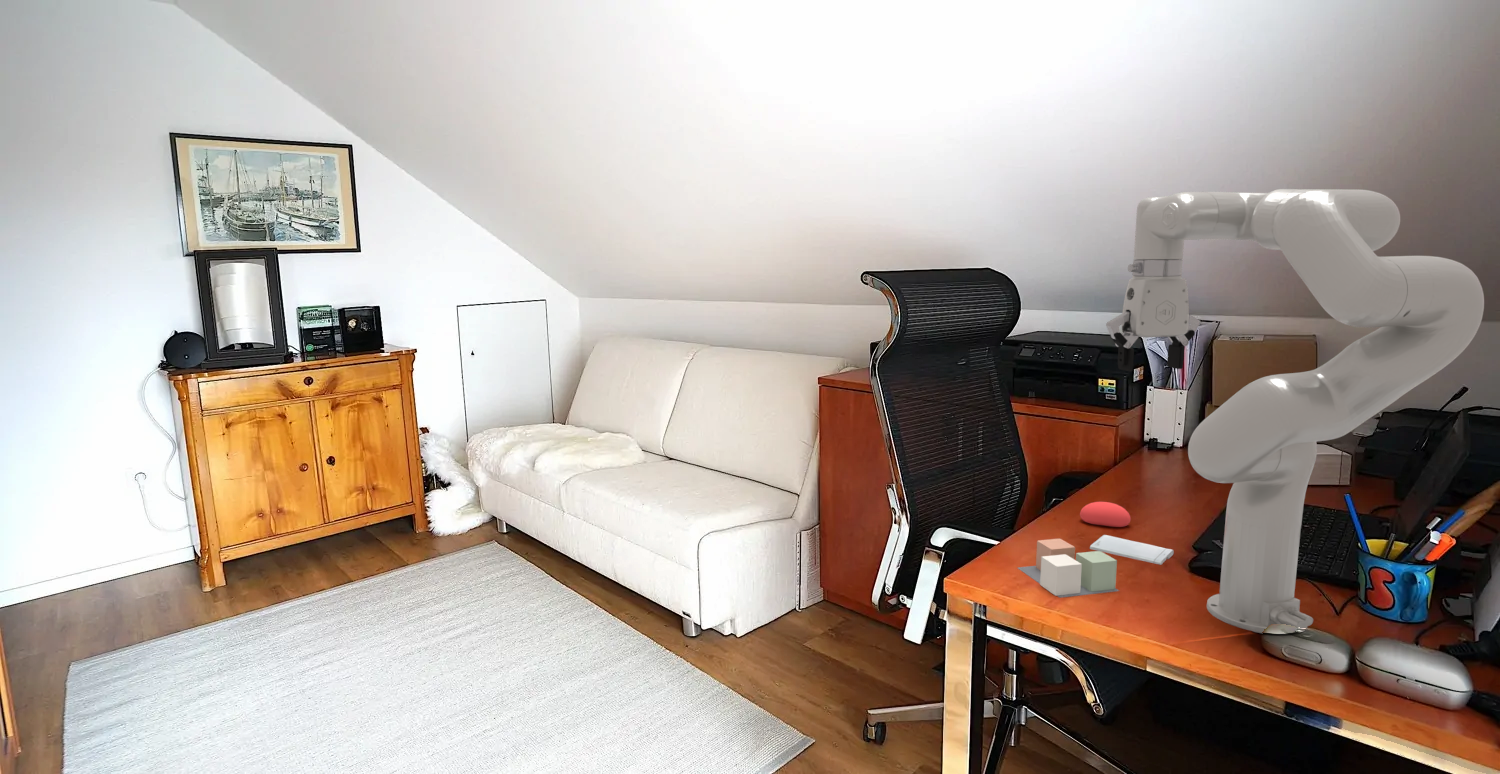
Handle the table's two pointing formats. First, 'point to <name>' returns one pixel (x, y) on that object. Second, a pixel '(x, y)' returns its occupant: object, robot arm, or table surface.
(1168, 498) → the table surface
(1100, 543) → the hard drive
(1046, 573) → the block cream
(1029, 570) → the felt mat
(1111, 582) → the block sage
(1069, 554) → the block terracotta
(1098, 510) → the stress ball
